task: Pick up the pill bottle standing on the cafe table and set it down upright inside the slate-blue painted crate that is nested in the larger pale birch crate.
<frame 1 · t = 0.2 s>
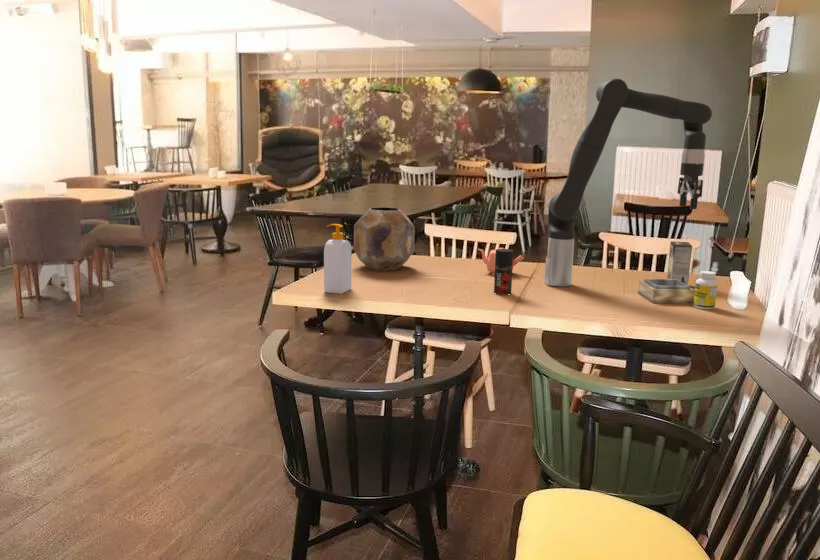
hand: (687, 207, 245), 29 cm above the table, fingers open, 8 cm apart
pill bottle: (703, 308, 220), on the table
teapot: (499, 273, 269), on the table
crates: (665, 298, 231), on the table
coffee box: (676, 286, 251), on the table
planter: (383, 268, 276), on the table
deodorant: (502, 293, 234), on the table
soap bottle: (337, 291, 234), on the table
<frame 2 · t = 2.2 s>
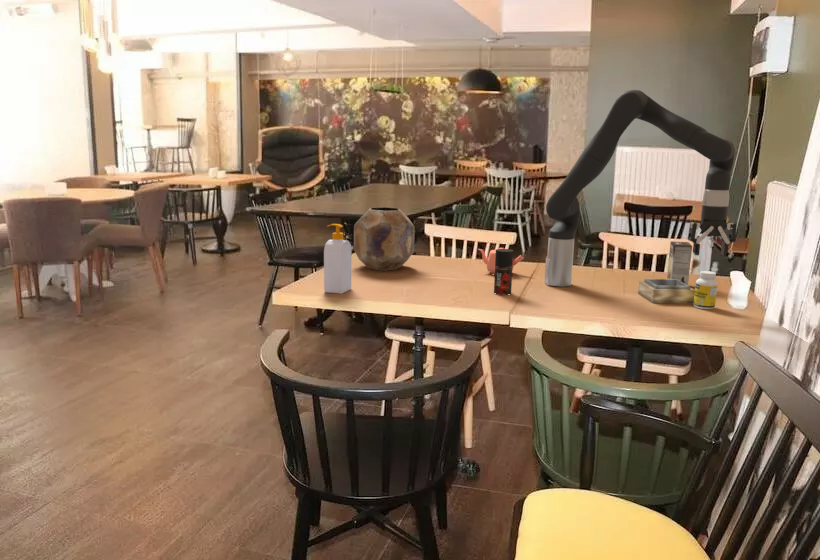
hand: (709, 255, 216), 17 cm above the table, fingers open, 8 cm apart
nothing on the table moved.
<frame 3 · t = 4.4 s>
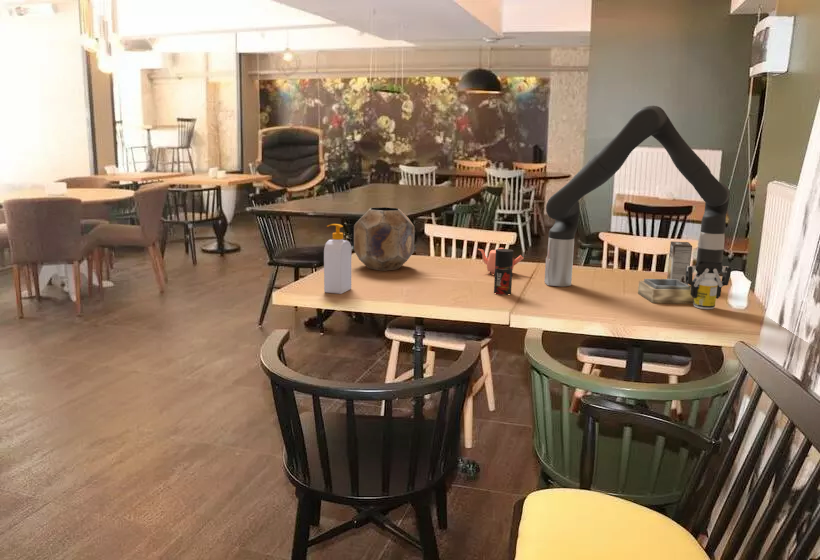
hand: (705, 297, 219), 3 cm above the table, fingers closed on pill bottle, 6 cm apart
pill bottle: (703, 308, 220), on the table, touching gripper
everything else where it was.
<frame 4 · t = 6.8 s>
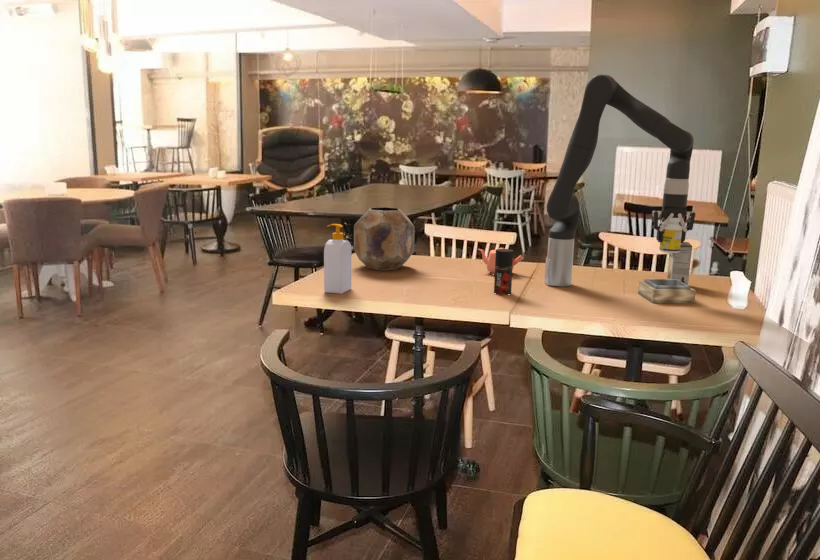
hand: (670, 242, 227), 19 cm above the table, fingers closed on pill bottle, 6 cm apart
pill bottle: (669, 252, 228), point 16 cm above the table, touching gripper
everything else where it was.
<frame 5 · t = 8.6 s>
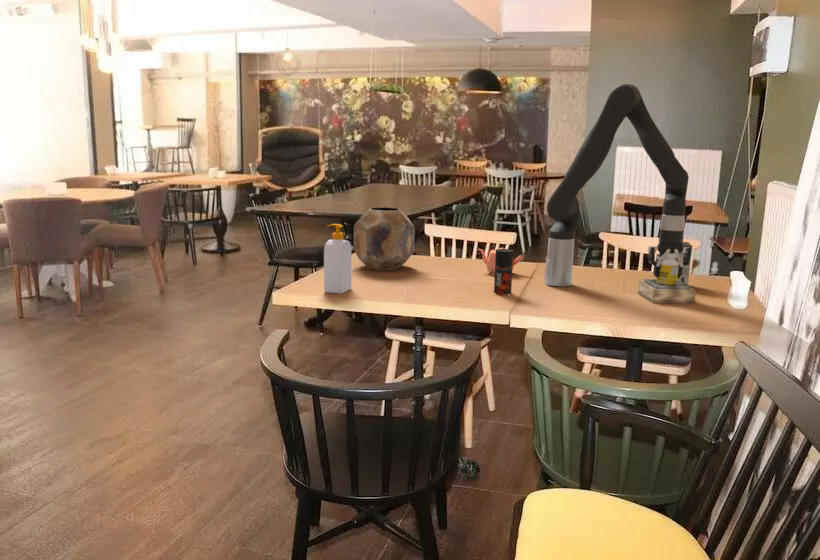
hand: (667, 277, 230), 7 cm above the table, fingers closed on pill bottle, 6 cm apart
pill bottle: (666, 287, 231), point 4 cm above the table, touching gripper
everything else where it was.
when the fingers open (7 cm above the table, at t = 9.7 s): pill bottle drops 2 cm, resting on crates.
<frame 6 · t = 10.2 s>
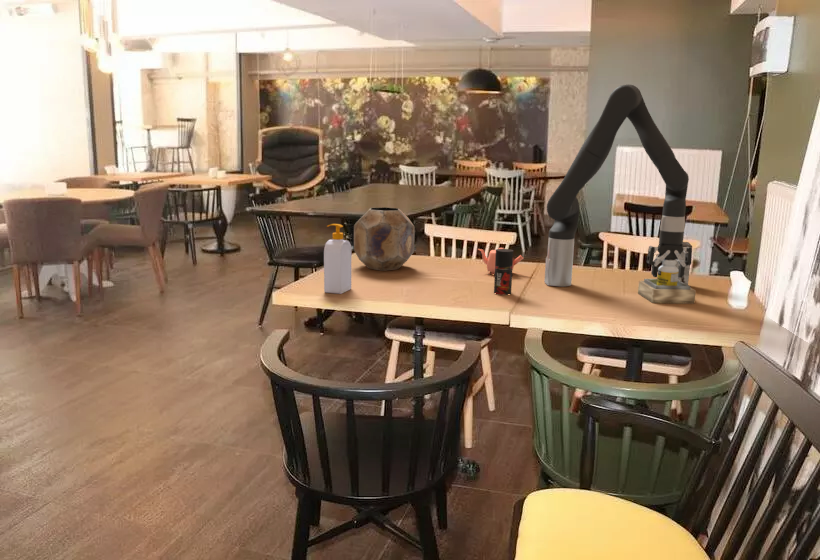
hand: (667, 277, 230), 7 cm above the table, fingers open, 8 cm apart
pill bottle: (666, 293, 231), point 2 cm above the table, touching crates
everything else where it was.
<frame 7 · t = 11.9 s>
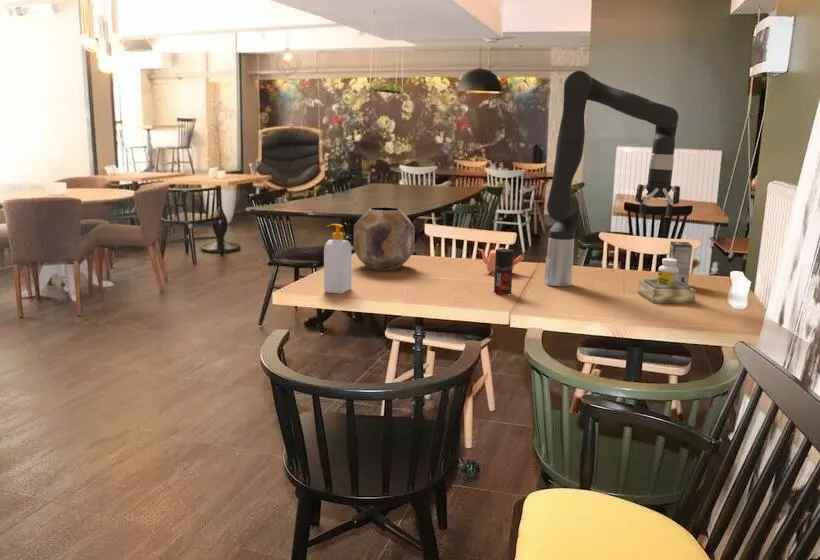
hand: (655, 215, 234), 27 cm above the table, fingers open, 8 cm apart
nothing on the table moved.
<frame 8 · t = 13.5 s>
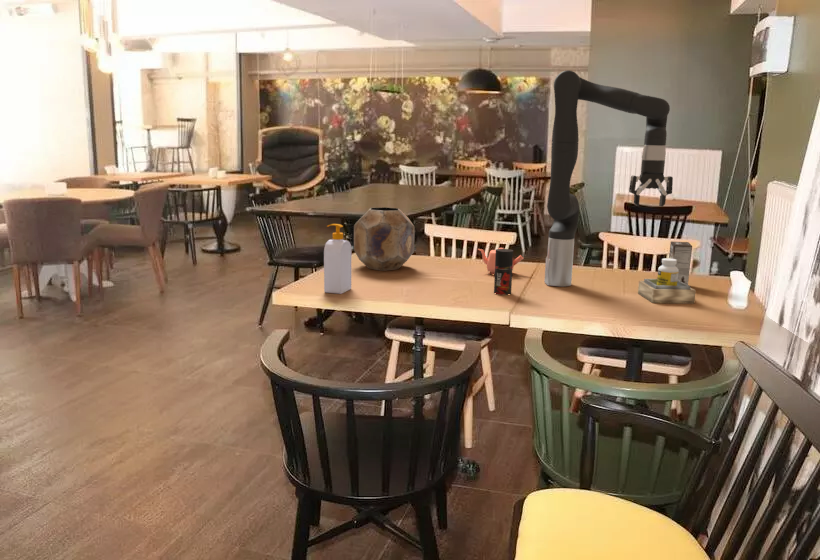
hand: (649, 206, 237), 30 cm above the table, fingers open, 8 cm apart
nothing on the table moved.
at the end: pill bottle inside the target area on the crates (0.1 cm from its centre), point 1.6 cm above the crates's base; pill bottle tilted 0°; the gripper is holding nothing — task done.
